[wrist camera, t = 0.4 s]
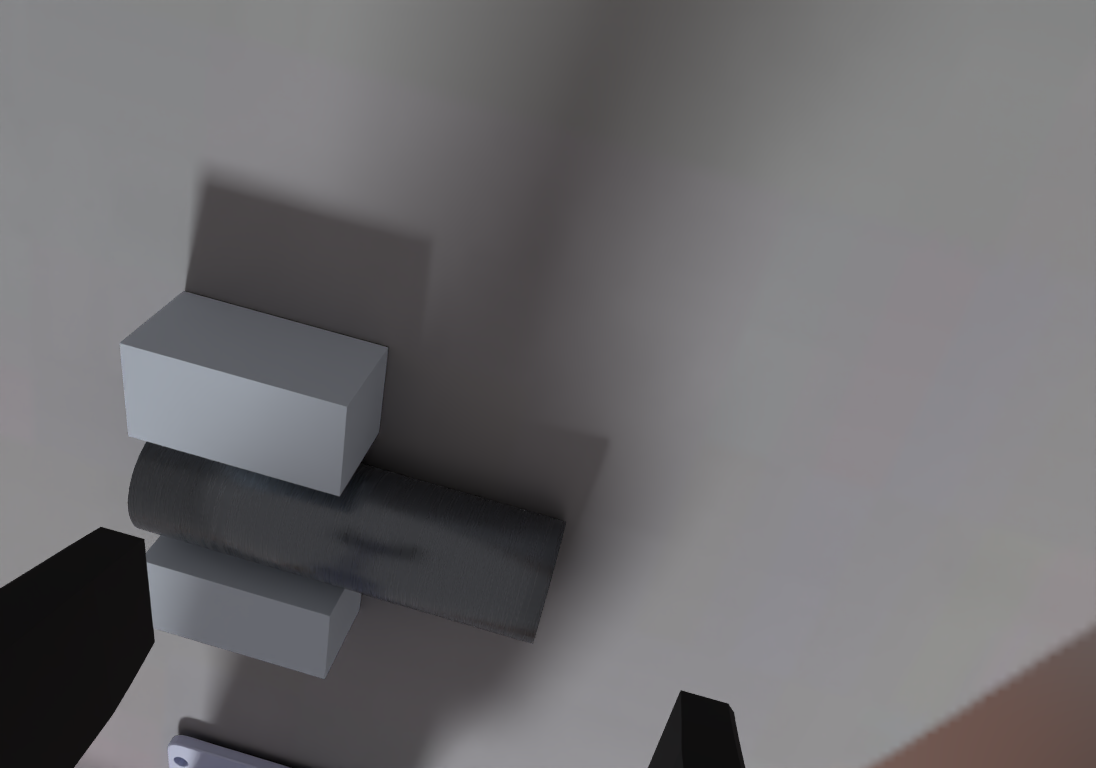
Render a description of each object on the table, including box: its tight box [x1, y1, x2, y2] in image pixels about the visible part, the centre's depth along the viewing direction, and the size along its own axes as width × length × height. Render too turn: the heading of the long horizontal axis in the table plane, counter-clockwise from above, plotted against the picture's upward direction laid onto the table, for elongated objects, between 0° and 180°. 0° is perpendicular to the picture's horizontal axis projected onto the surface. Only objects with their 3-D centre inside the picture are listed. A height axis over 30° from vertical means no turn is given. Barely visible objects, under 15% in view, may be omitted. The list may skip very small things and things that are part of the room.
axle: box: [128, 442, 566, 644], centre depth 22 cm, size 10×3×3 cm, turn 79°
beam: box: [120, 291, 388, 679], centre depth 22 cm, size 9×5×2 cm, turn 169°
